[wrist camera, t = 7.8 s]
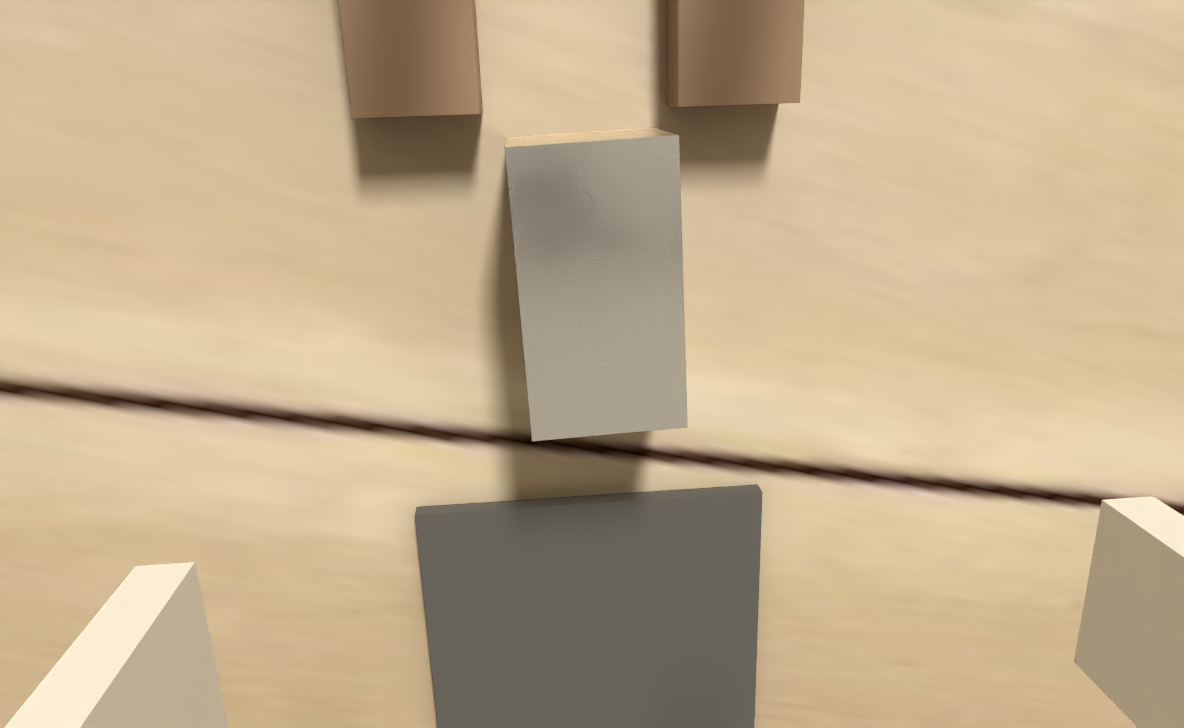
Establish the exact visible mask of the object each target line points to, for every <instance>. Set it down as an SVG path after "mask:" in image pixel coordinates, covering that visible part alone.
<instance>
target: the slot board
mask: <svg viewBox="0 0 1184 728" xmlns="http://www.w3.org/2000/svg"><path fill="white" fill-rule="evenodd" d="M338 1H339V10H340V19H341V27H342V36H343V45H344V53H345V62H346V71H347V79H348V88H349V97H350V105H351V114H352V118H378V117H407V116H435V115H464V114H480V113H482V112H483V109H482V94H481V80H480V65H479V51H478V36H477V22H476V7H475V0H338ZM803 19H804V0H667V106H674V107H692V106H720V105H749V104H777V103H800V89H801V66H802V43H803Z"/></svg>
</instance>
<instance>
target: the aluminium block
mask: <svg viewBox="0 0 1184 728" xmlns="http://www.w3.org/2000/svg"><path fill="white" fill-rule="evenodd" d="M505 154H506V165H507V176H508V187H509V198H510V208H511V219H512V230H513V241H514V252H515V262H516V273H517V284H518V295H519V306H520V316H521V327H522V338H523V349H524V360H525V370H526V381H527V392H528V403H529V414H530V424H531V435H532V441H541V440H552V439H563V438H575V437H586V436H597V435H608V434H619V433H631V432H642V431H653V430H664V429H675V428H686V427H688V426H687V392H686V357H685V323H684V289H683V255H682V220H681V186H680V152H679V135H677V134H673V133H670V132H667V131H663V130H660V129H656V128H653V127H643V128H629V129H614V130H600V131H585V132H571V133H556V134H542V135H528V136H513V137H508V138H507V142H506V145H505Z"/></svg>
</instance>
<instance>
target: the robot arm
mask: <svg viewBox="0 0 1184 728" xmlns="http://www.w3.org/2000/svg"><path fill="white" fill-rule="evenodd" d="M1074 662H1075V663H1076V664H1077V665H1078V666H1079V667H1080V668H1081V669H1082V670H1083V671H1084V672H1085V673H1086V675H1087V676H1088V677H1089V678H1090V679H1091V680H1092V681H1093V682H1094V683H1095V684H1096V685H1097V686H1098V687H1099V688H1100V689H1101V690H1102V691H1103V692H1104V693H1105V694H1106V695H1107V696H1108V697H1109V698H1110V699H1111V700H1112V701H1113V702H1114V703H1115V704H1116V705H1117V706H1118V708H1119V709H1120V710H1121V711H1122V712H1123V713H1124V714H1125V715H1126V716H1127V717H1128V718H1129V719H1130V720H1131V721H1132V722H1133V723H1134V724H1135V725H1136V726H1137V727H1138V728H1184V516H1183V515H1181V514H1180V513H1178V512H1177V511H1175V510H1173V509H1172V508H1170V507H1169V506H1167V505H1166V504H1164V503H1162V502H1161V501H1159V500H1158V499H1156V498H1155V497H1153V496H1152V497H1137V498H1123V499H1108V500H1102V503H1101V509H1100V515H1099V521H1098V526H1097V532H1096V538H1095V544H1094V549H1093V555H1092V561H1091V567H1090V572H1089V578H1088V584H1087V590H1086V596H1085V601H1084V607H1083V613H1082V619H1081V624H1080V630H1079V636H1078V642H1077V647H1076V653H1075V659H1074ZM4 728H228V723H227V718H226V713H225V708H224V703H223V698H222V693H221V688H220V683H219V678H218V673H217V668H216V664H215V659H214V654H213V649H212V644H211V639H210V634H209V629H208V624H207V619H206V614H205V609H204V605H203V600H202V595H201V590H200V585H199V580H198V575H197V570H196V565H195V562H190V563H175V564H161V565H146V566H135V568H134V569H133V570H132V571H131V572H130V574H129V575H128V576H127V577H126V579H125V580H124V581H123V582H122V584H121V585H120V586H119V587H118V588H117V590H116V591H115V592H114V593H113V595H112V596H111V597H110V598H109V600H108V601H107V602H106V603H105V604H104V606H103V607H102V608H101V609H100V611H99V612H98V613H97V614H96V616H95V617H94V618H93V619H92V620H91V622H90V623H89V624H88V625H87V627H86V628H85V629H84V630H83V632H82V633H81V634H80V635H79V636H78V638H77V639H76V640H75V641H74V643H73V644H72V645H71V646H70V648H69V649H68V650H67V651H66V652H65V654H64V655H63V656H62V657H61V659H60V660H59V661H58V662H57V664H56V665H55V666H54V667H53V668H52V670H51V671H50V672H49V673H48V675H47V676H46V677H45V678H44V680H43V681H42V682H41V683H40V684H39V686H38V687H37V688H36V689H35V691H34V692H33V693H32V694H31V696H30V697H29V698H28V699H27V700H26V702H25V703H24V704H23V705H22V707H21V708H20V709H19V710H18V711H17V713H16V714H15V715H14V716H13V718H12V719H11V720H10V721H9V723H8V724H7V725H6V726H5V727H4Z"/></svg>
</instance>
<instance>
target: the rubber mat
mask: <svg viewBox="0 0 1184 728" xmlns="http://www.w3.org/2000/svg"><path fill="white" fill-rule="evenodd" d="M761 512H762V491H761V489H760V488H759V486H758V485H745V486H730V487H714V488H699V489H684V490H668V491H653V492H638V493H623V494H607V495H592V496H577V497H561V498H546V499H531V500H516V501H500V502H485V503H470V504H454V505H439V506H424V507H417V509H416V513H415V521H416V530H417V539H418V549H419V558H420V567H421V576H422V585H423V595H424V604H425V613H426V622H427V631H428V641H429V650H430V659H431V668H432V678H433V687H434V696H435V705H436V714H437V724H438V728H754V717H755V687H756V658H757V629H758V600H759V571H760V542H761Z"/></svg>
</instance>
